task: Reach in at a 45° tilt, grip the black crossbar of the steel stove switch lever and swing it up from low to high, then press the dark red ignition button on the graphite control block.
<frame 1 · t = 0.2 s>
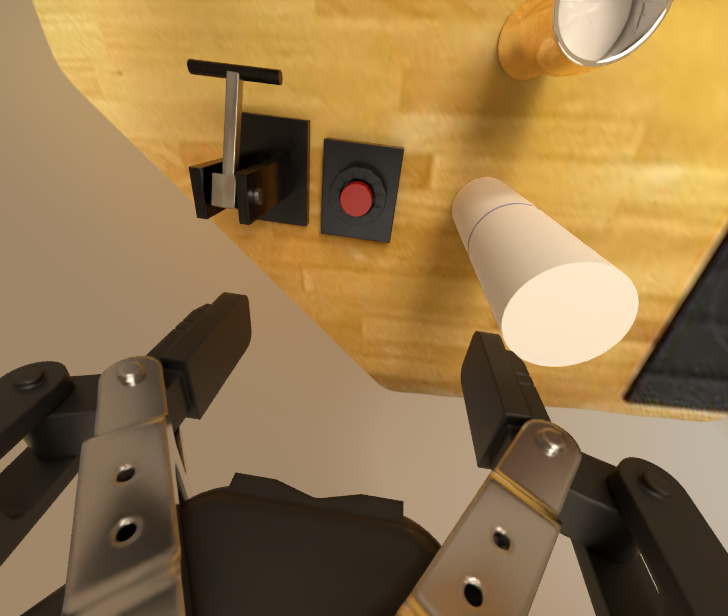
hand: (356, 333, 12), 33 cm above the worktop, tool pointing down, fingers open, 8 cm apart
cylindrical container: (481, 207, 40), on the worktop
ignition button: (356, 198, 37), point 4 cm above the worktop, slide at 0.1 cm
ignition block: (360, 191, 41), on the worktop
lever bracket: (273, 171, 40), on the worktop
beer glass: (529, 41, 32), on the worktop
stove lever: (232, 139, 29), point 10 cm above the worktop, hinge at -20.0°
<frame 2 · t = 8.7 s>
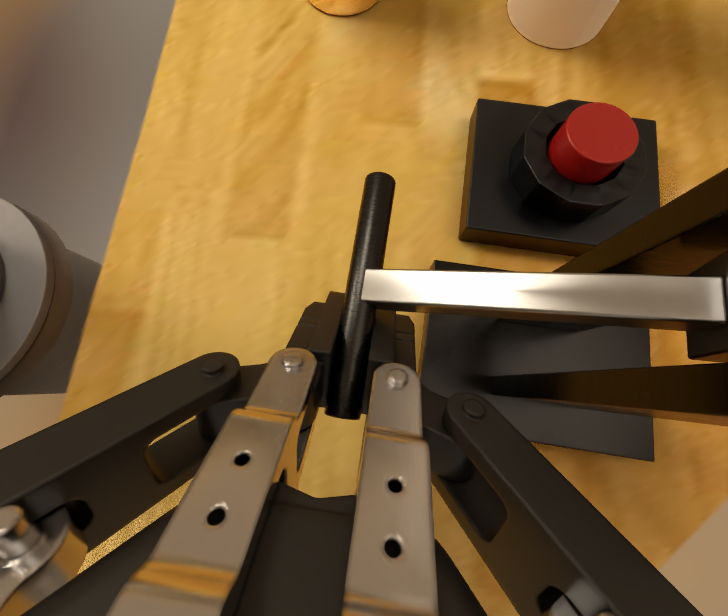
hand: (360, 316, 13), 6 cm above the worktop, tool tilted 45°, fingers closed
cylindrical container: (553, 13, 25), on the worktop
ignition button: (591, 144, 17), point 4 cm above the worktop, slide at 0.1 cm
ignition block: (549, 188, 21), on the worktop
lever bracket: (526, 355, 19), on the worktop
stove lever: (553, 297, 9), point 10 cm above the worktop, hinge at -20.1°, touching gripper
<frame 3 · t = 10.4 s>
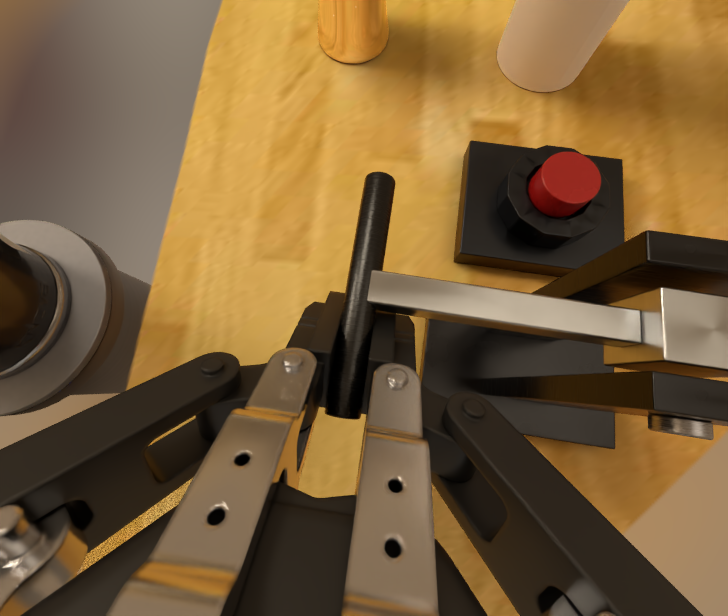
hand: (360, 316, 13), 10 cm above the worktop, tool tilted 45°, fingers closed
cylindrical container: (537, 59, 28), on the worktop
ignition button: (563, 185, 21), point 4 cm above the worktop, slide at 0.1 cm
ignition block: (532, 216, 24), on the worktop
lever bracket: (510, 361, 22), on the worktop
beer glass: (353, 38, 29), on the worktop
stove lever: (529, 314, 10), point 12 cm above the worktop, hinge at 1.1°, touching gripper
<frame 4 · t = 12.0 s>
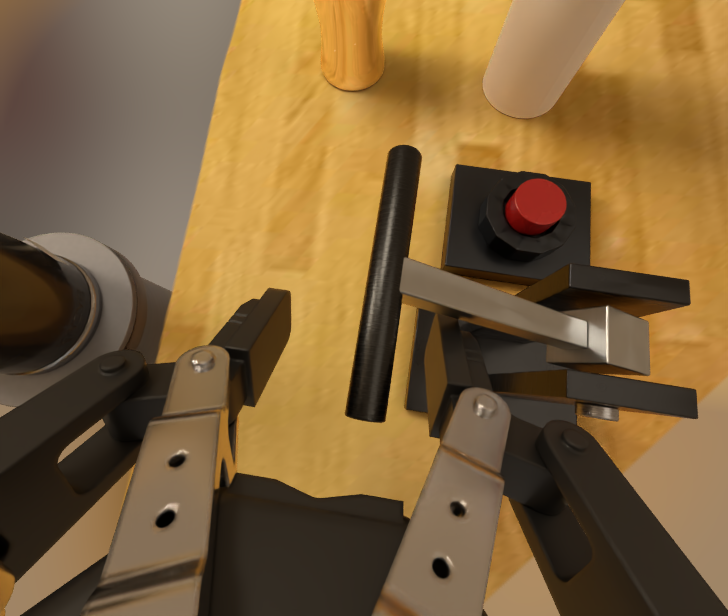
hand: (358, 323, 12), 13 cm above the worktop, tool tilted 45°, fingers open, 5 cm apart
cylindrical container: (519, 88, 31), on the worktop
ignition button: (534, 207, 24), point 4 cm above the worktop, slide at 0.1 cm
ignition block: (510, 232, 27), on the worktop
lever bracket: (489, 360, 25), on the worktop
beer glass: (352, 67, 32), on the worktop
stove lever: (518, 317, 12), point 14 cm above the worktop, hinge at 26.4°, touching gripper
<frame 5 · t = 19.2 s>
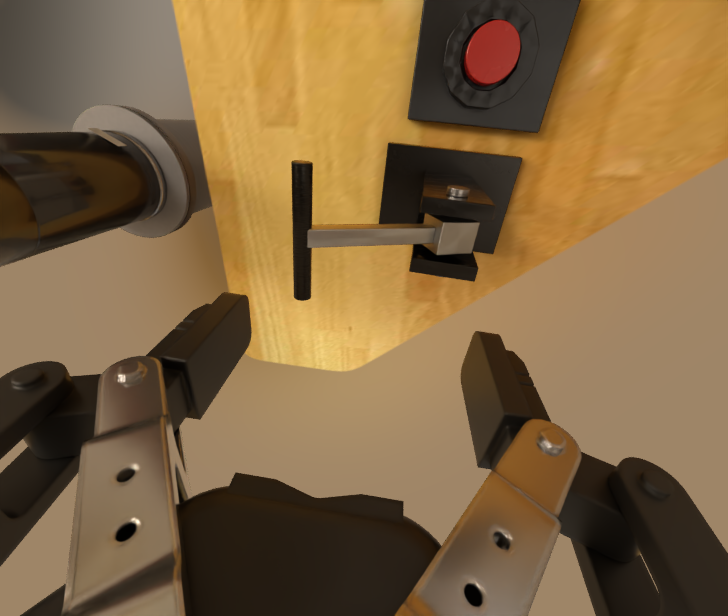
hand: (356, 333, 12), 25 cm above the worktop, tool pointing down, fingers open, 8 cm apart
ignition button: (490, 55, 24), point 4 cm above the worktop, slide at 0.1 cm
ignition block: (483, 63, 27), on the worktop
lever bracket: (442, 198, 33), on the worktop
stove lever: (387, 234, 21), point 14 cm above the worktop, hinge at 30.0°
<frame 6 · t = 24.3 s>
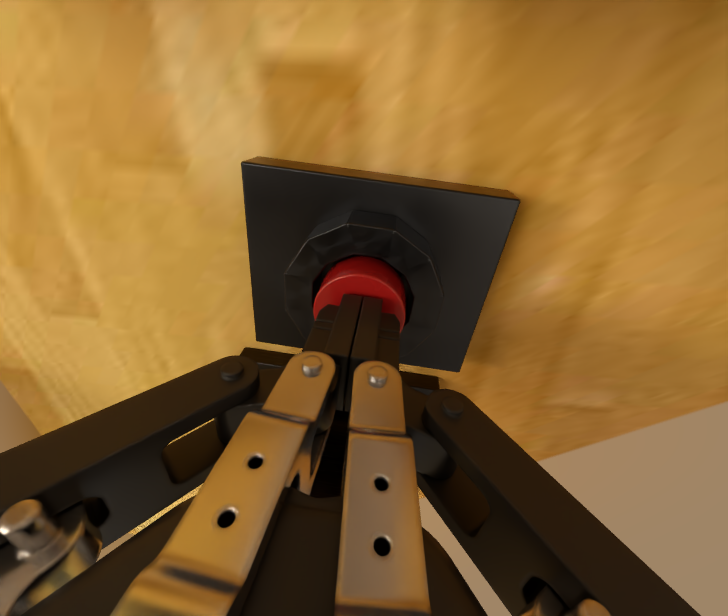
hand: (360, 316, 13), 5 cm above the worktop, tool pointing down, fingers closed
ignition button: (361, 304, 13), point 4 cm above the worktop, slide at -0.2 cm, touching gripper
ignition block: (369, 267, 16), on the worktop
lever bracket: (336, 411, 22), on the worktop
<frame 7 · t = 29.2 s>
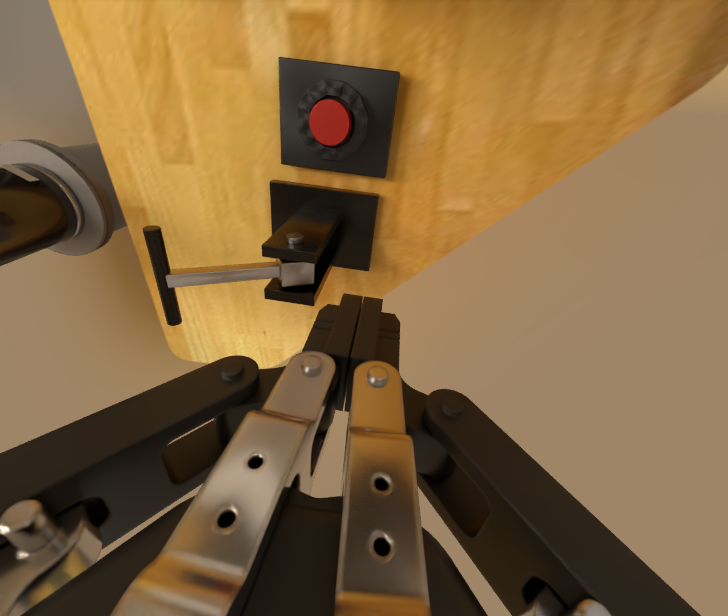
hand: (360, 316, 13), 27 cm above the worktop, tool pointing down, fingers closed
ignition button: (330, 122, 30), point 4 cm above the worktop, slide at 0.1 cm
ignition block: (338, 121, 33), on the worktop
lever bracket: (324, 225, 39), on the worktop
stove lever: (240, 272, 27), point 14 cm above the worktop, hinge at 30.0°
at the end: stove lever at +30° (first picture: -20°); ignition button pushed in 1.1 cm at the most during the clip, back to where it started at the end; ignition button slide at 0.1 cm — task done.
